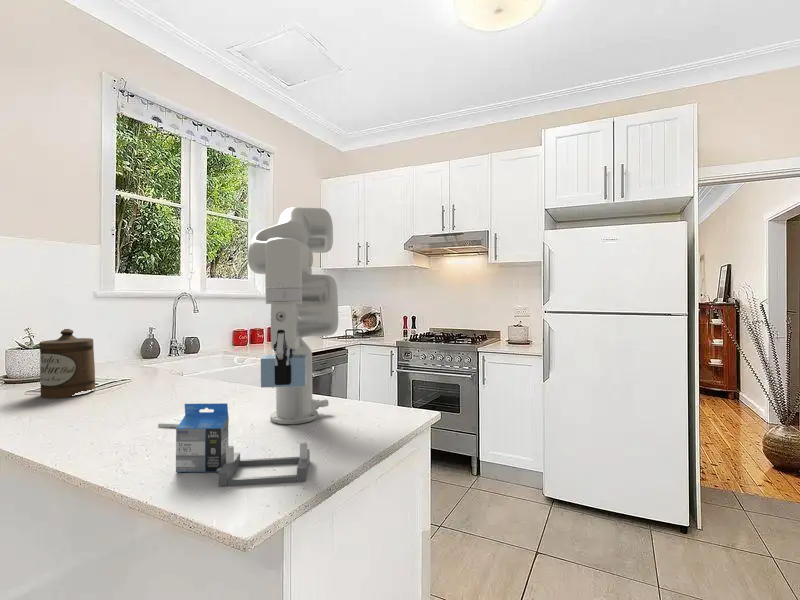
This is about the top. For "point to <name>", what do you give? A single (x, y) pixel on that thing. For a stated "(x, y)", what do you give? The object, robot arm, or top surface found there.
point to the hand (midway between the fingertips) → (284, 380)
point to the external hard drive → (175, 420)
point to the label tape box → (202, 438)
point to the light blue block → (297, 370)
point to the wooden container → (66, 366)
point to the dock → (234, 462)
